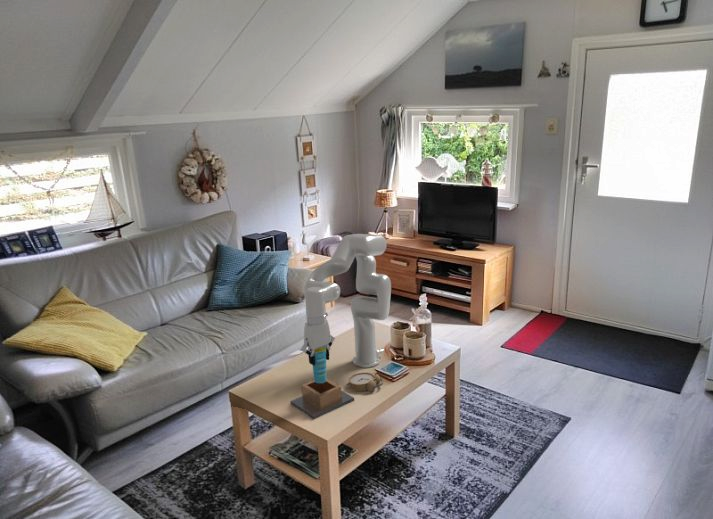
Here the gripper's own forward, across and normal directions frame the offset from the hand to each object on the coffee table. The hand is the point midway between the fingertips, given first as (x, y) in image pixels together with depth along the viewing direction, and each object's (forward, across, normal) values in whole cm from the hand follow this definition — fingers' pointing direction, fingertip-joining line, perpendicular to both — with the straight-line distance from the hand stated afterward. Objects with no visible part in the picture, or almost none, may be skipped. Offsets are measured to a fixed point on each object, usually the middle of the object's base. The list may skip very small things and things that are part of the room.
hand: (319, 361), depth 217 cm
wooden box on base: (+18, 0, 0) cm, 18 cm away
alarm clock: (+19, -21, +2) cm, 28 cm away
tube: (+9, 0, 0) cm, 9 cm away
